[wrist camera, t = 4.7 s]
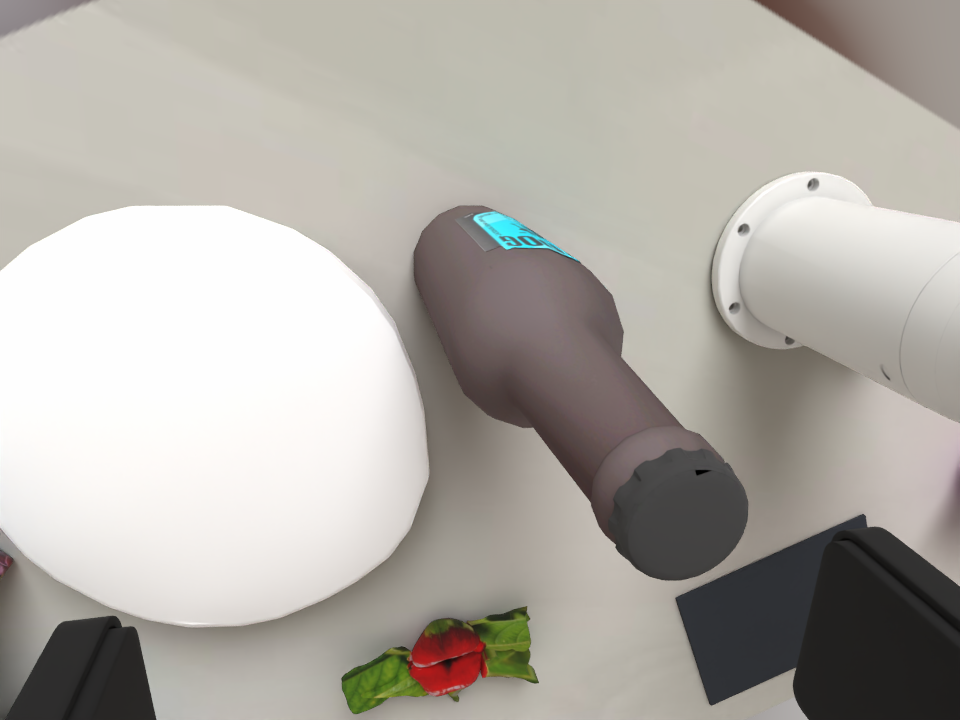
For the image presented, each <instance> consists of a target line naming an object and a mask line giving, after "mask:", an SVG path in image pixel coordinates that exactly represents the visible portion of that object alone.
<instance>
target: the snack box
mask: <svg viewBox="0 0 960 720" xmlns="http://www.w3.org/2000/svg"><path fill="white" fill-rule="evenodd" d="M12 562H13V559H12V558H11V557H10V556H8V555H7V554H6V553H4V552H3V551H1V550H0V579H1V578H2V576H3V575H4V574H5V572H6V571H7V569H8V568H9V567H10V565H11V564H12Z"/></svg>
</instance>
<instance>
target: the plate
mask: <svg viewBox="0 0 960 720" xmlns="http://www.w3.org/2000/svg"><path fill="white" fill-rule="evenodd" d="M429 472H430V469H429V458H428V447H427V435H426V424H425V413H424V406H423V402H422V397H421V393H420V389H419V385H418V381H417V377H416V373H415V371H414V368H413V366H412V363H411V361H410V358H409V356H408V354H407V351H406V349H405V346H404V344H403V341H402V339H401V336H400V334H399V332H398V329H397V327H396V324H395V322H394V320H393V318H392V317H391V316H390V314H389V313H388V311H387V310H386V309H385V307H384V306H383V304H382V303H381V301H380V300H379V299H378V297H377V296H376V294H375V293H374V292H373V290H372V289H371V288H370V287H369V286H368V285H367V284H366V283H365V282H364V281H362V280H361V279H360V278H359V277H358V276H357V275H356V274H355V273H354V272H353V271H351V270H350V269H349V268H348V267H347V266H346V265H345V264H344V263H343V262H342V261H340V260H339V259H338V258H337V257H336V256H335V255H334V254H333V253H332V252H331V251H329V250H328V249H326V248H324V247H323V246H321V245H319V244H317V243H316V242H314V241H312V240H311V239H309V238H307V237H306V236H304V235H302V234H301V233H299V232H297V231H295V230H294V229H292V228H289V227H286V226H283V225H280V224H278V223H275V222H272V221H269V220H266V219H263V218H260V217H257V216H254V215H252V214H249V213H246V212H243V211H240V210H237V209H234V208H231V207H229V206H129V207H125V208H121V209H117V210H112V211H108V212H104V213H100V214H96V215H91V216H87V217H85V218H83V219H81V220H79V221H77V222H75V223H73V224H71V225H69V226H68V227H66V228H64V229H62V230H60V231H58V232H56V233H54V234H52V235H50V236H48V237H46V238H45V239H43V240H41V241H39V242H37V243H35V244H33V245H31V246H29V247H28V248H27V249H26V250H24V251H23V252H22V253H21V254H20V255H19V256H17V257H16V258H15V259H14V260H13V261H12V262H10V263H9V264H8V265H7V266H6V267H5V268H3V269H2V270H1V271H0V528H1V529H2V531H3V532H4V533H5V534H6V535H7V536H8V538H9V539H10V540H11V541H12V542H13V543H14V545H15V546H16V547H17V548H18V549H19V550H20V552H21V553H22V554H23V555H24V556H25V557H27V558H28V559H29V560H31V561H32V562H33V563H34V564H36V565H37V566H38V567H40V568H41V569H42V570H43V571H45V572H46V573H47V574H48V575H50V576H51V577H52V578H54V579H55V580H57V581H59V582H61V583H62V584H64V585H66V586H68V587H70V588H72V589H74V590H76V591H78V592H80V593H82V594H84V595H85V596H87V597H89V598H91V599H93V600H95V601H97V602H99V603H101V604H103V605H105V606H107V607H109V608H112V609H115V610H118V611H121V612H124V613H127V614H130V615H133V616H136V617H139V618H142V619H145V620H149V621H155V622H161V623H166V624H172V625H177V626H183V627H189V628H196V627H226V626H245V625H250V624H255V623H259V622H264V621H269V620H273V619H278V618H282V617H284V616H287V615H289V614H291V613H294V612H296V611H299V610H301V609H303V608H306V607H308V606H311V605H313V604H315V603H318V602H320V601H323V600H325V599H327V598H329V597H331V596H332V595H334V594H336V593H338V592H339V591H341V590H343V589H345V588H346V587H348V586H350V585H352V584H353V583H355V582H357V581H358V580H360V579H361V578H362V577H364V576H365V575H366V574H368V573H369V572H370V571H372V570H373V569H374V568H376V567H377V566H378V565H379V564H381V563H382V562H383V561H385V560H386V559H387V558H389V557H390V556H391V554H392V553H393V552H394V550H395V549H396V548H397V546H398V545H399V544H400V542H401V541H402V540H403V538H404V537H405V536H406V534H407V533H408V532H409V530H410V528H411V526H412V523H413V520H414V517H415V514H416V512H417V509H418V506H419V503H420V500H421V498H422V495H423V492H424V489H425V487H426V484H427V481H428V478H429Z"/></svg>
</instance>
